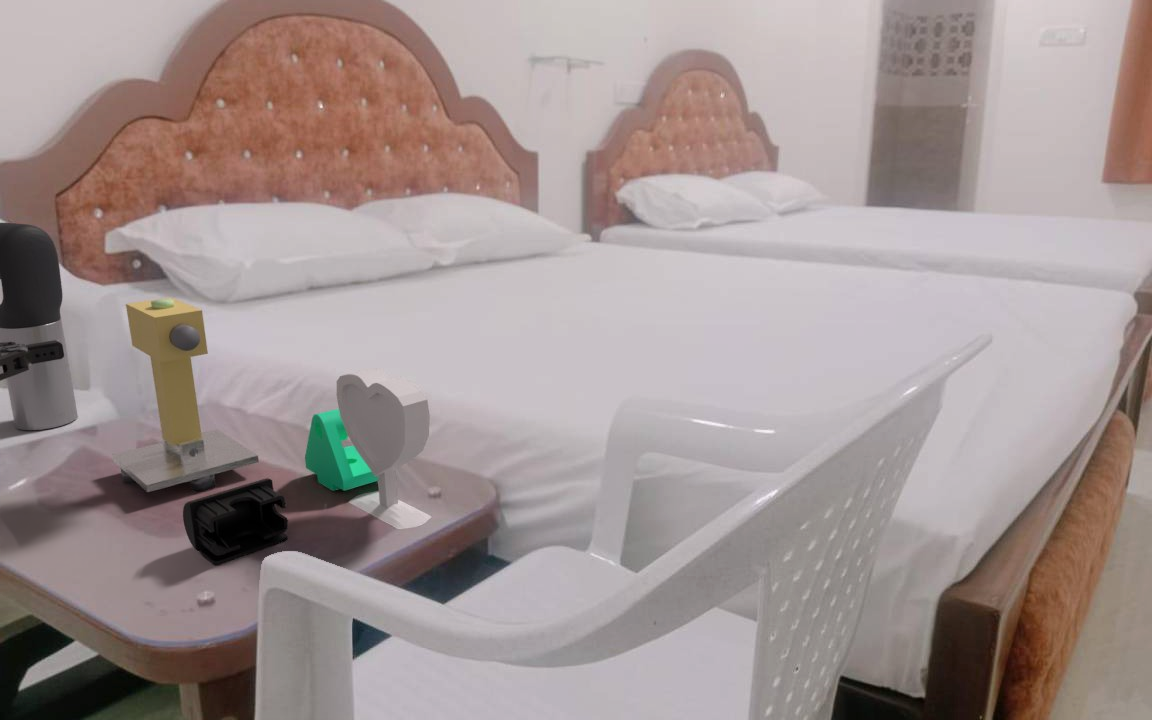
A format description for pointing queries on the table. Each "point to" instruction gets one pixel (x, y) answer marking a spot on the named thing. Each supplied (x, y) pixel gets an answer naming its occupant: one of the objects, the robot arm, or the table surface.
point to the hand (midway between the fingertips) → (61, 349)
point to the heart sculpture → (385, 437)
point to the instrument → (171, 360)
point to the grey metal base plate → (183, 462)
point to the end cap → (236, 522)
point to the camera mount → (334, 454)
